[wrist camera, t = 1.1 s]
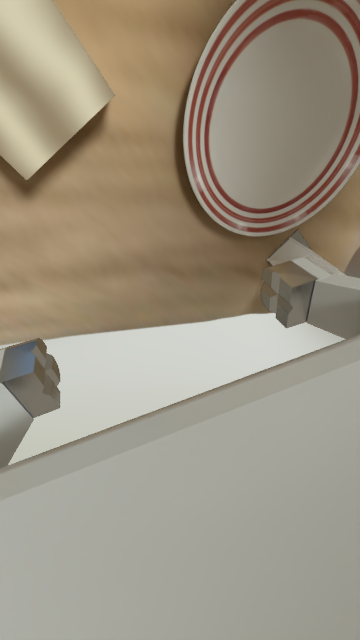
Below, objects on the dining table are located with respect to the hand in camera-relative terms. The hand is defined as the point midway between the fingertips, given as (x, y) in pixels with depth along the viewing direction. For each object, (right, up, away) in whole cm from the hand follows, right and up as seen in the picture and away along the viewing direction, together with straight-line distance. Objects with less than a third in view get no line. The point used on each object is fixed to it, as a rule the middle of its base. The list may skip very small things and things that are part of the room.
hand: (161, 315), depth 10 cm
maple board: (-16, +24, +17) cm, 33 cm away
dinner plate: (+13, +25, +27) cm, 40 cm away
